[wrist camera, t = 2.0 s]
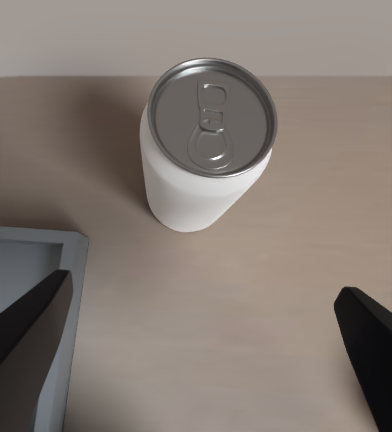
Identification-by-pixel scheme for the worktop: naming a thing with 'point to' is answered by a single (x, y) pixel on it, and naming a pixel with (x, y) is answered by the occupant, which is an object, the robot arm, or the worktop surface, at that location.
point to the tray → (24, 281)
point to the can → (204, 140)
